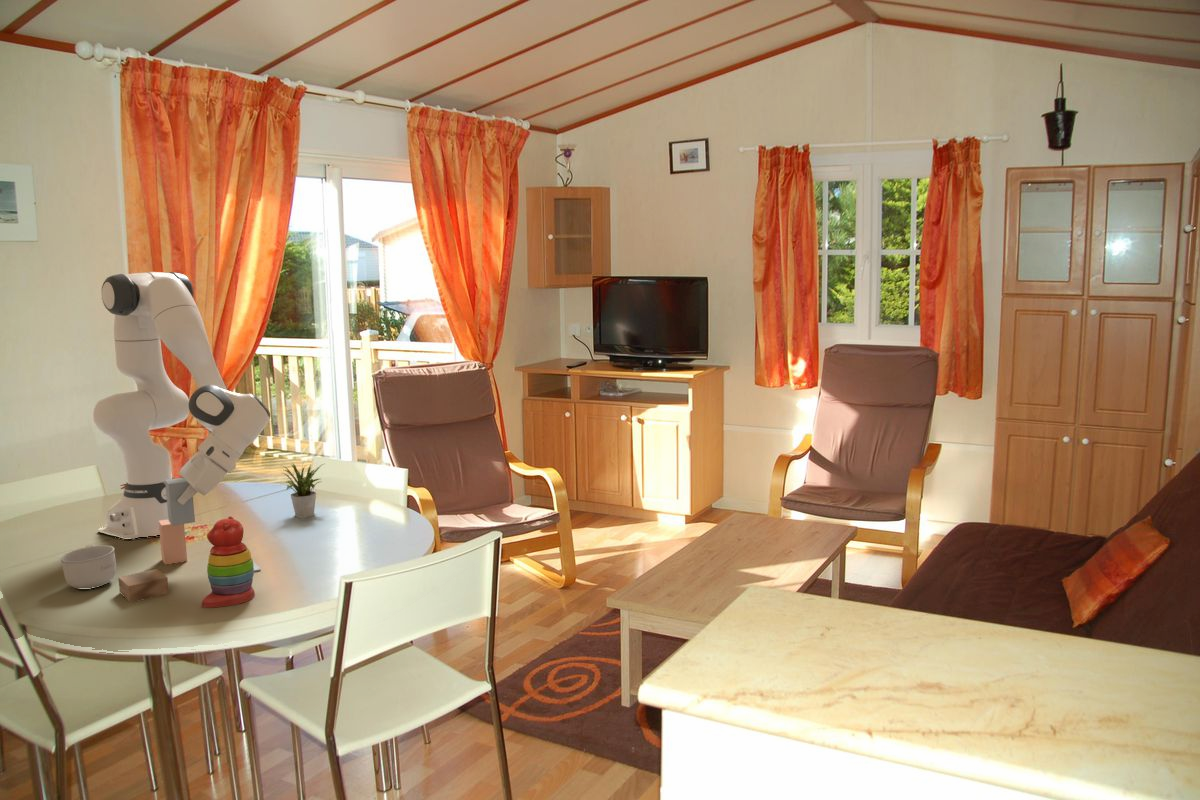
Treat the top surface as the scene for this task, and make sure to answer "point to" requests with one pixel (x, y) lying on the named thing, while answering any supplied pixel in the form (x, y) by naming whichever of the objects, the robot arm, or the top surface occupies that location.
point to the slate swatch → (256, 568)
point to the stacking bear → (228, 566)
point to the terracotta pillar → (172, 542)
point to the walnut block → (143, 585)
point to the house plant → (303, 491)
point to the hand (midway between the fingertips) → (176, 499)
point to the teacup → (89, 566)
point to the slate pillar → (175, 509)
